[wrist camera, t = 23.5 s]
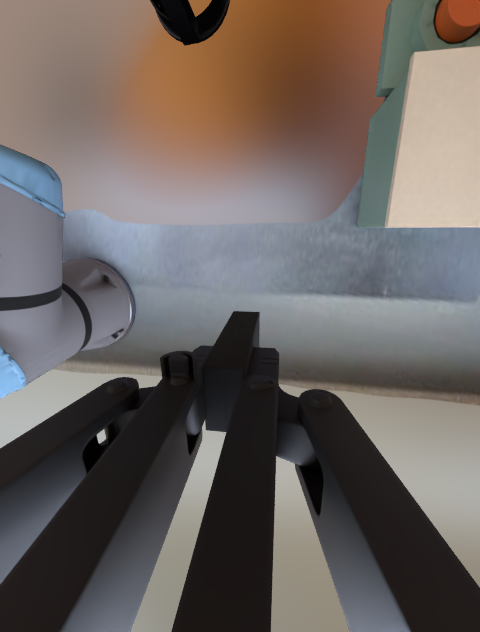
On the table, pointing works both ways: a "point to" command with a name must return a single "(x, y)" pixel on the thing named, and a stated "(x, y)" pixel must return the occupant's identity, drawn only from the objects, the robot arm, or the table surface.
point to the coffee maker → (381, 159)
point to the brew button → (457, 19)
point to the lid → (438, 143)
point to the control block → (410, 39)
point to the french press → (190, 19)
